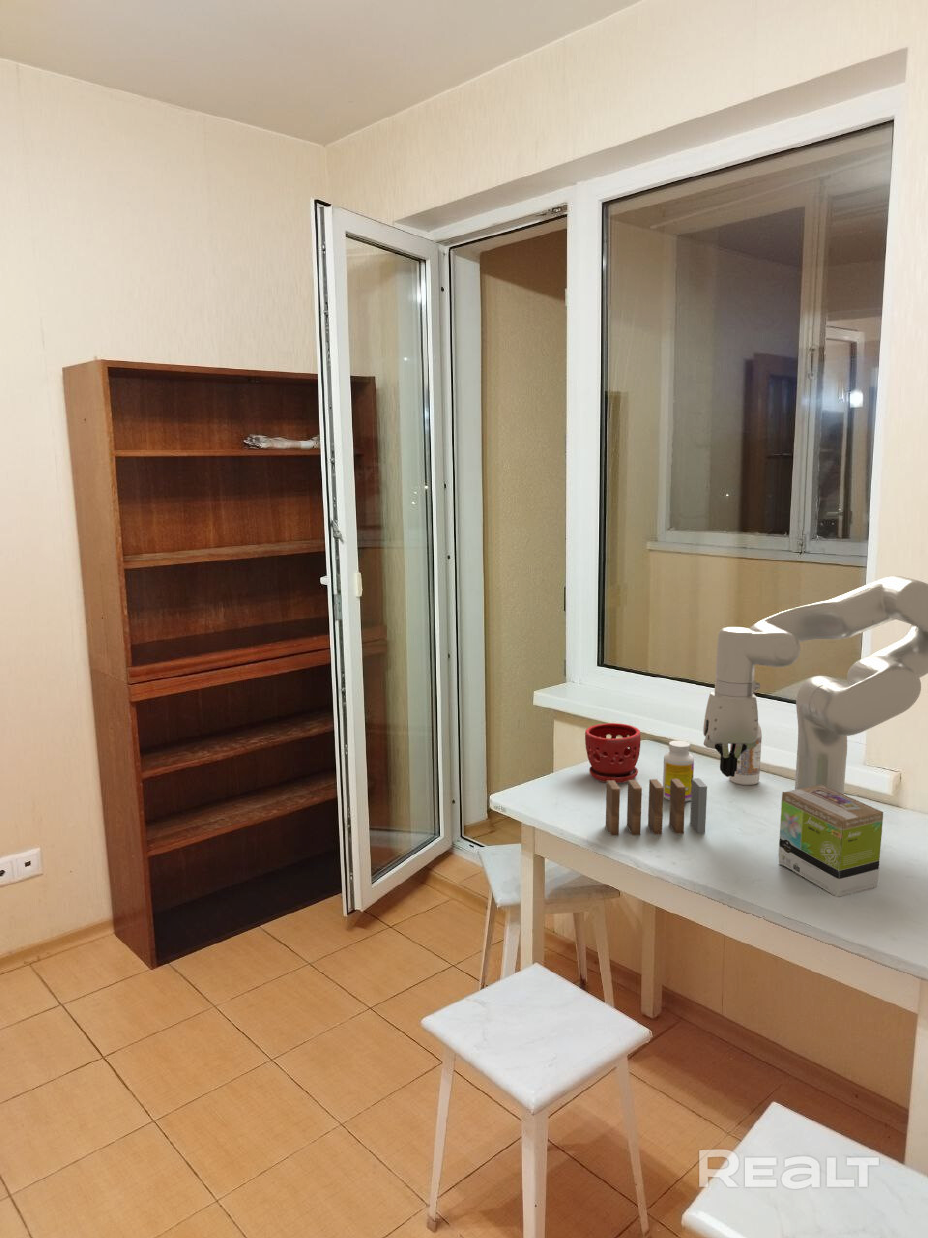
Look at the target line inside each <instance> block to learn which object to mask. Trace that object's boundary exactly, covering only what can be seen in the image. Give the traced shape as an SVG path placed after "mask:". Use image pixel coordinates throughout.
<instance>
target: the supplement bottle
mask: <svg viewBox="0 0 928 1238" xmlns="http://www.w3.org/2000/svg"><path fill="white" fill-rule="evenodd" d="M668 742H669V743H668V750H669V751H667V753H665V755H664V757H663V773H662V774H663V776H662V777H663V779H662V786H663V787H664V795H663V799H666V800H667V801H669V802H670V783H671V779H679V780H680V781H681V783H682V784H683V785H684V786H685V803H687V802H689V801H690V802H691V789H692V778H694V769H695V766H694V765H695V759H694V756H693V755H692V754H691V753H690V751H691V743H690V742H688V741H684V740H671V741H668Z"/></svg>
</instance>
